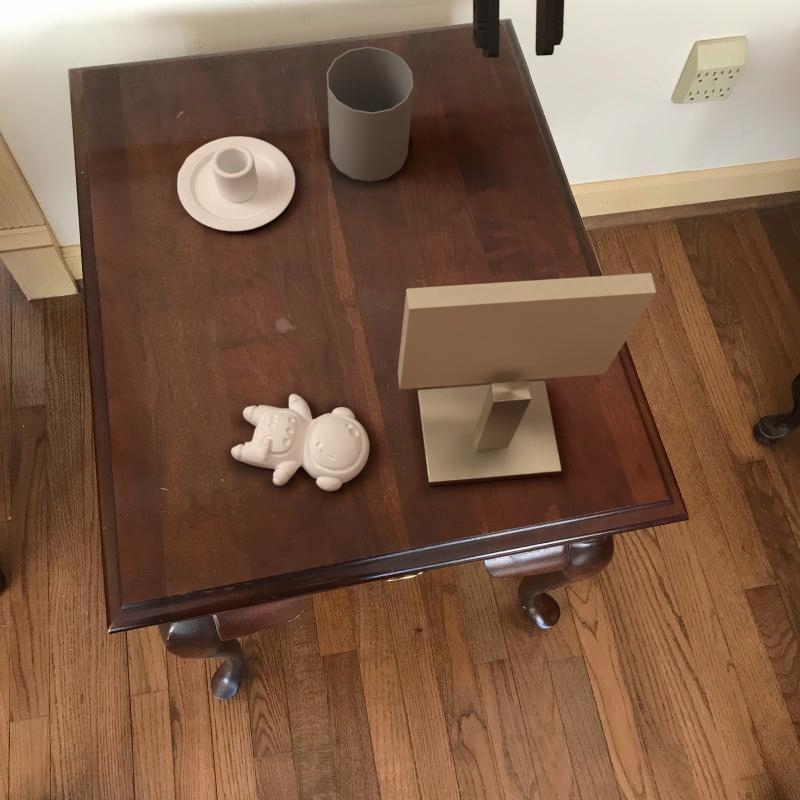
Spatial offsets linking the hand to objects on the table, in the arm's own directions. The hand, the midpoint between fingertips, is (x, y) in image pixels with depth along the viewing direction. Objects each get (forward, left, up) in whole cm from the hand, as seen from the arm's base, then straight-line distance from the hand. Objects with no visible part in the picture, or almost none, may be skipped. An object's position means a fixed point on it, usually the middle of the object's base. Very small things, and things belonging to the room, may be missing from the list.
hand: (518, 54), depth 55 cm
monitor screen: (0, +14, -20) cm, 24 cm away
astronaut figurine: (+17, +15, -30) cm, 38 cm away
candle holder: (+22, -14, -30) cm, 40 cm away
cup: (+8, -18, -30) cm, 36 cm away
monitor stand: (0, +15, -30) cm, 34 cm away
